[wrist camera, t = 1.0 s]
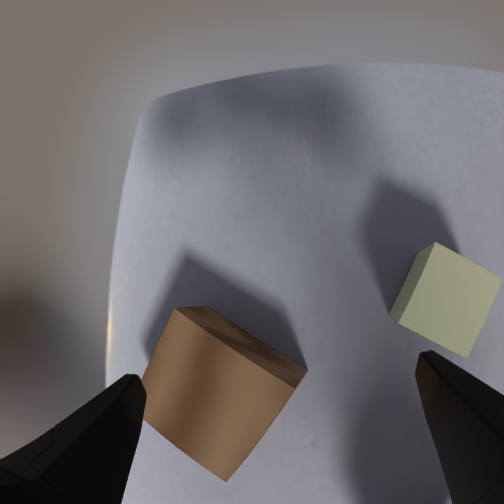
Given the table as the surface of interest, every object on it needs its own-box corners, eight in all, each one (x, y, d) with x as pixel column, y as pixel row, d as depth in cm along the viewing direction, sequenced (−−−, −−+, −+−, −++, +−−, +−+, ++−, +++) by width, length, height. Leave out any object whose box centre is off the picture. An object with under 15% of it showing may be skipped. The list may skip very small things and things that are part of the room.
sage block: (470, 281, 19) (502, 279, 14) (442, 342, 20) (466, 358, 14) (417, 253, 21) (435, 241, 15) (388, 314, 21) (398, 323, 16)
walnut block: (308, 369, 23) (295, 388, 18) (248, 454, 24) (226, 482, 19) (206, 305, 27) (174, 308, 22) (162, 392, 27) (129, 406, 22)
